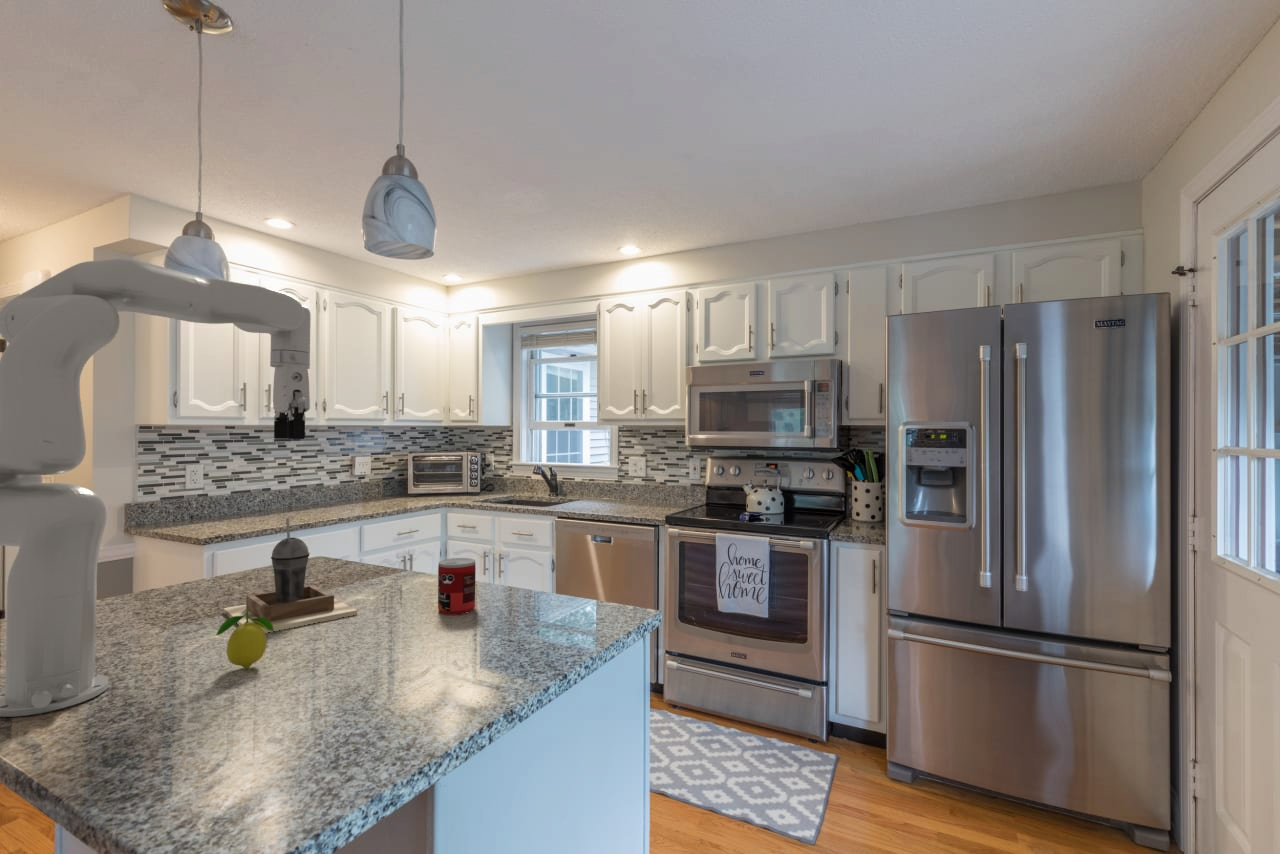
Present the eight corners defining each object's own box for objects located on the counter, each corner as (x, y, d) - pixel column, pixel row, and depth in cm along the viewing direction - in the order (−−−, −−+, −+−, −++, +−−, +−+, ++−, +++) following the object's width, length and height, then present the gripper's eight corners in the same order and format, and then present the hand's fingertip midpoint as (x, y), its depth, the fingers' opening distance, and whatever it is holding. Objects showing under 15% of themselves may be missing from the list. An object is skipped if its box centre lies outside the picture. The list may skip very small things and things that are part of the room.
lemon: (215, 677, 97) (216, 615, 97) (229, 664, 103) (230, 605, 103) (262, 673, 99) (263, 612, 99) (273, 660, 104) (274, 602, 104)
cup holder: (357, 614, 131) (357, 596, 131) (250, 636, 117) (251, 615, 117) (321, 595, 146) (321, 579, 146) (223, 612, 132) (223, 594, 132)
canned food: (435, 607, 137) (436, 559, 137) (472, 604, 140) (472, 556, 140) (440, 617, 130) (440, 566, 130) (477, 612, 133) (478, 562, 133)
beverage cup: (315, 605, 135) (317, 515, 135) (293, 614, 127) (295, 520, 128) (285, 604, 135) (287, 514, 136) (261, 613, 128) (263, 519, 128)
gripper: (322, 359, 129) (321, 439, 128) (296, 365, 141) (295, 438, 141) (283, 355, 123) (281, 439, 123) (259, 362, 135) (258, 438, 135)
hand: (289, 438), depth 132 cm, fingers open, 9 cm apart
